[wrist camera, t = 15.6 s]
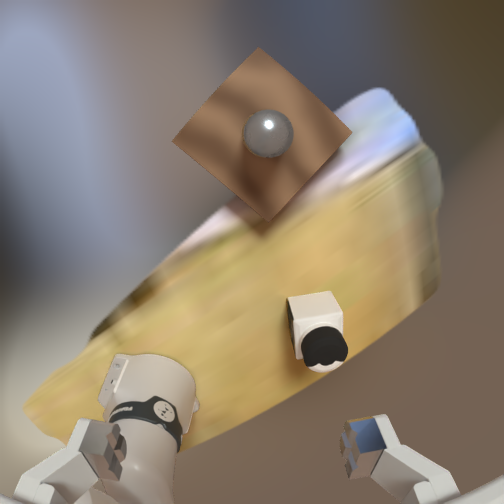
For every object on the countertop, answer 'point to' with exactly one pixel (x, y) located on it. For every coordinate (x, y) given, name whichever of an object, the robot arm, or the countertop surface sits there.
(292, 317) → the medicine bottle
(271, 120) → the grey metal cylinder
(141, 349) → the countertop surface
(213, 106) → the walnut stand
